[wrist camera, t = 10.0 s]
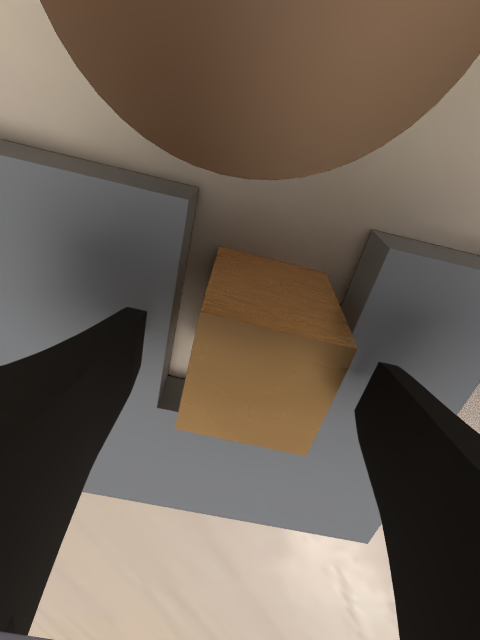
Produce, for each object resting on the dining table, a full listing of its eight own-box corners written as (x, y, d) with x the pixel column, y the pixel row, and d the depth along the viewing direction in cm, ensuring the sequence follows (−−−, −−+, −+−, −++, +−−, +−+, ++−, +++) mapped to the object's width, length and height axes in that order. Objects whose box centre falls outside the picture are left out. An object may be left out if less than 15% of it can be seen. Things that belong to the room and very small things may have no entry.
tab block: (326, 272, 14) (357, 349, 9) (292, 359, 16) (306, 456, 11) (219, 246, 13) (199, 311, 9) (198, 338, 15) (174, 429, 11)
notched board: (507, 262, 13) (546, 286, 11) (358, 505, 20) (367, 543, 18) (-19, 134, 12) (-68, 138, 10) (13, 440, 19) (-12, 474, 17)
